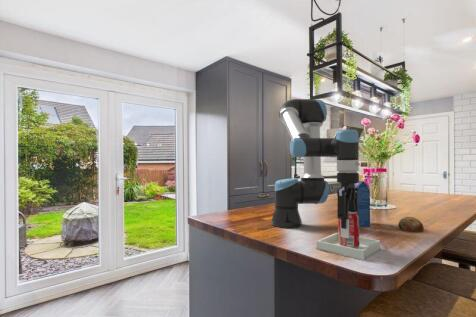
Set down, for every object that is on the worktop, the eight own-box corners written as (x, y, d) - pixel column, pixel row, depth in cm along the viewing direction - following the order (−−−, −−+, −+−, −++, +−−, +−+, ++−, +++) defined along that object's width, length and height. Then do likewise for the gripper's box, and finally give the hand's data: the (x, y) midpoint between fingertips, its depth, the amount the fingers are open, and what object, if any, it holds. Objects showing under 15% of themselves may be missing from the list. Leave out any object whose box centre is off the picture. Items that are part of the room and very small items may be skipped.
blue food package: (356, 226, 137) (356, 175, 137) (351, 221, 149) (351, 174, 149) (370, 227, 135) (370, 176, 136) (364, 222, 147) (364, 174, 148)
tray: (316, 249, 101) (316, 241, 101) (336, 240, 113) (336, 232, 113) (363, 260, 90) (363, 251, 90) (380, 248, 101) (380, 240, 102)
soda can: (362, 250, 98) (362, 213, 99) (341, 249, 99) (341, 213, 99) (355, 244, 106) (355, 209, 106) (336, 243, 106) (335, 209, 106)
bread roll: (397, 235, 134) (390, 220, 134) (415, 225, 135) (408, 211, 135) (411, 240, 125) (404, 224, 124) (431, 230, 125) (423, 214, 125)
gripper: (347, 172, 92) (348, 242, 92) (367, 171, 106) (368, 232, 105) (326, 172, 98) (327, 238, 97) (347, 171, 111) (348, 229, 110)
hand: (348, 235), depth 101 cm, fingers open, 6 cm apart
